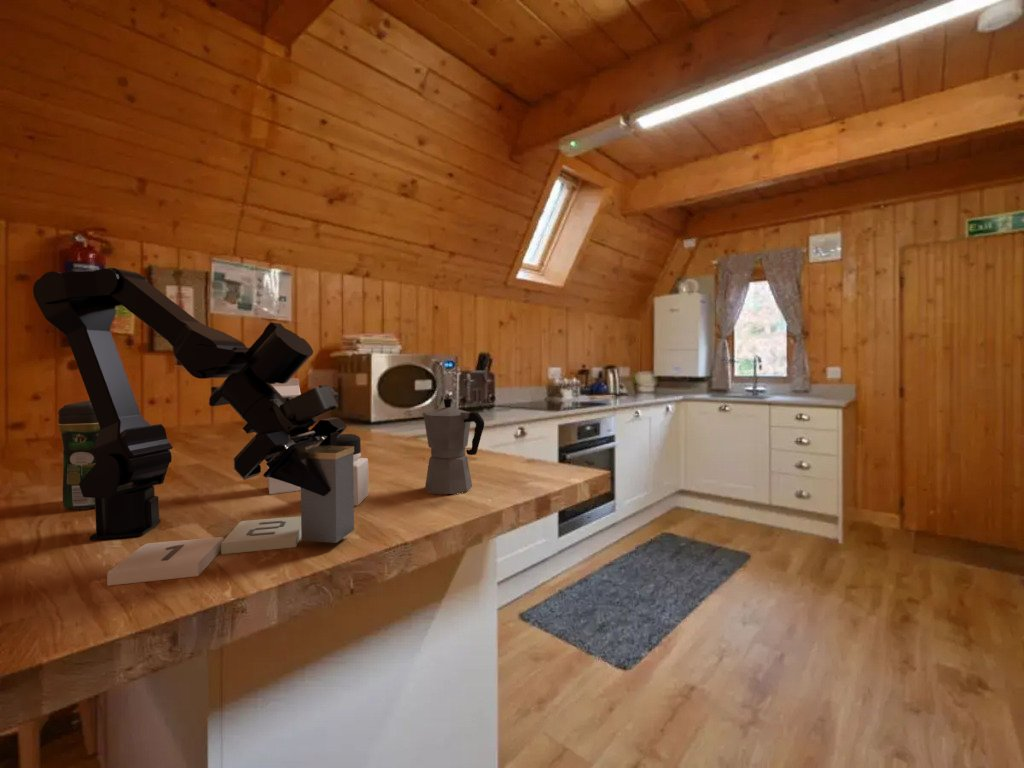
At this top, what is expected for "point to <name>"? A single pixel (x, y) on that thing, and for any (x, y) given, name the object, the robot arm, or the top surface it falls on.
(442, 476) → the coffeepot
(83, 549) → the top surface
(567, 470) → the top surface
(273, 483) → the milk
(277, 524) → the tile
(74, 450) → the coffee jar
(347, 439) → the medicine bottle
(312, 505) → the tea tin
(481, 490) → the top surface
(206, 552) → the tile
